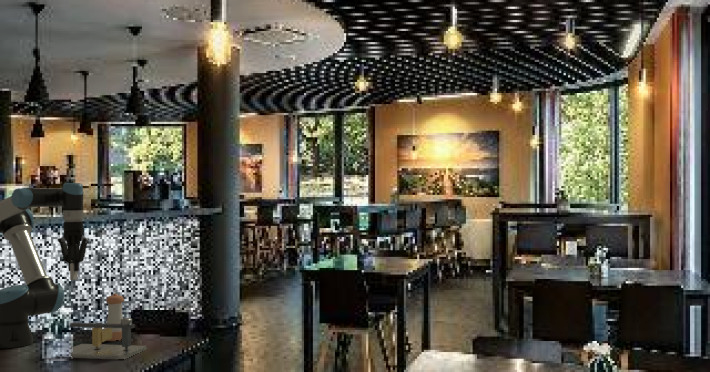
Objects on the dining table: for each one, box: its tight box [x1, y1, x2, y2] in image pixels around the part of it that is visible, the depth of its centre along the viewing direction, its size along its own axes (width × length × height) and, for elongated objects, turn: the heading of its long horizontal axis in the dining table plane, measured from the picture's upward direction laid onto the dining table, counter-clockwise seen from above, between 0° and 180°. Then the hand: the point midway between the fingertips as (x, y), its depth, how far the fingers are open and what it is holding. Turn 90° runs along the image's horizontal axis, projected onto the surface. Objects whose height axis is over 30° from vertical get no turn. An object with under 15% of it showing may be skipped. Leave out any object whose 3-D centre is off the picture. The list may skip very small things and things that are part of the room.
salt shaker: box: [105, 292, 125, 342], centre depth 281 cm, size 7×7×19 cm
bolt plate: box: [71, 343, 148, 361], centre depth 256 cm, size 28×16×2 cm, turn 79°
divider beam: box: [69, 317, 136, 349], centre depth 256 cm, size 26×4×11 cm, turn 79°
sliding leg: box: [91, 327, 112, 348], centre depth 260 cm, size 3×9×8 cm, turn 169°
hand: (73, 279), depth 272 cm, fingers closed
